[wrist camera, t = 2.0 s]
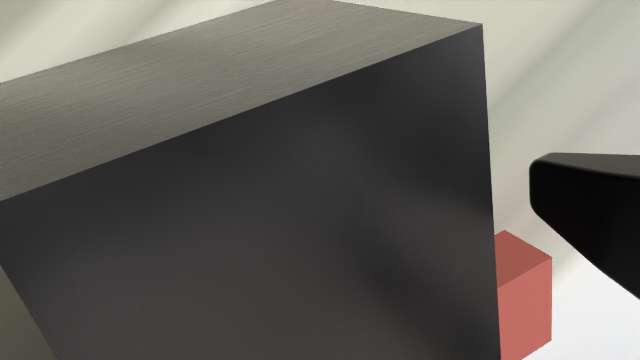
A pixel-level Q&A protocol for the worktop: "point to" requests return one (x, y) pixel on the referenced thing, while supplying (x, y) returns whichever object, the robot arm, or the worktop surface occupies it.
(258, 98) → the brushed grey cube
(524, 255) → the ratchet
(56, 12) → the worktop surface
